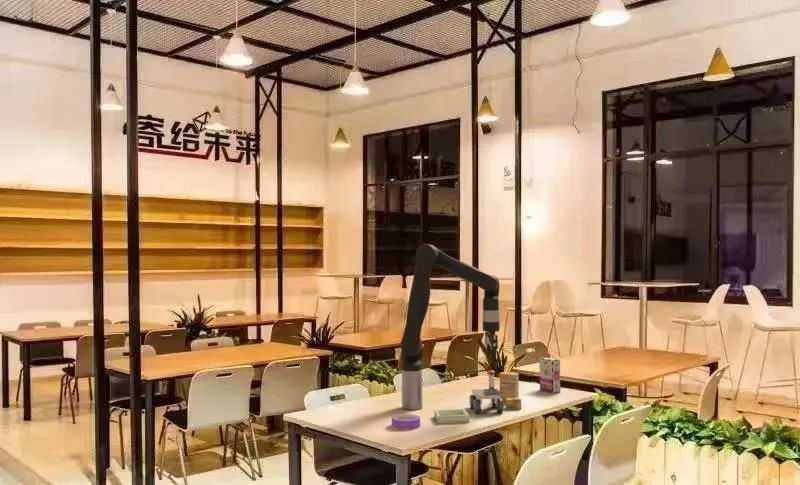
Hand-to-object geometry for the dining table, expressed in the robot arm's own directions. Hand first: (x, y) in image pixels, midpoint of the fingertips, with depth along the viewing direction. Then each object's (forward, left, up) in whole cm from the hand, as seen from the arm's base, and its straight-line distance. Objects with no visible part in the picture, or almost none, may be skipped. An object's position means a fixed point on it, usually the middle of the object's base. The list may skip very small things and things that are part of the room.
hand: (491, 356), depth 300 cm
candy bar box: (+39, +40, -24) cm, 61 cm away
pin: (0, -1, -16) cm, 16 cm away
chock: (+11, +4, -24) cm, 27 cm away
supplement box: (+13, +20, -24) cm, 34 cm away
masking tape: (-40, -21, -24) cm, 52 cm away
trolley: (-2, +2, -24) cm, 24 cm away
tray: (-20, -13, -24) cm, 34 cm away
